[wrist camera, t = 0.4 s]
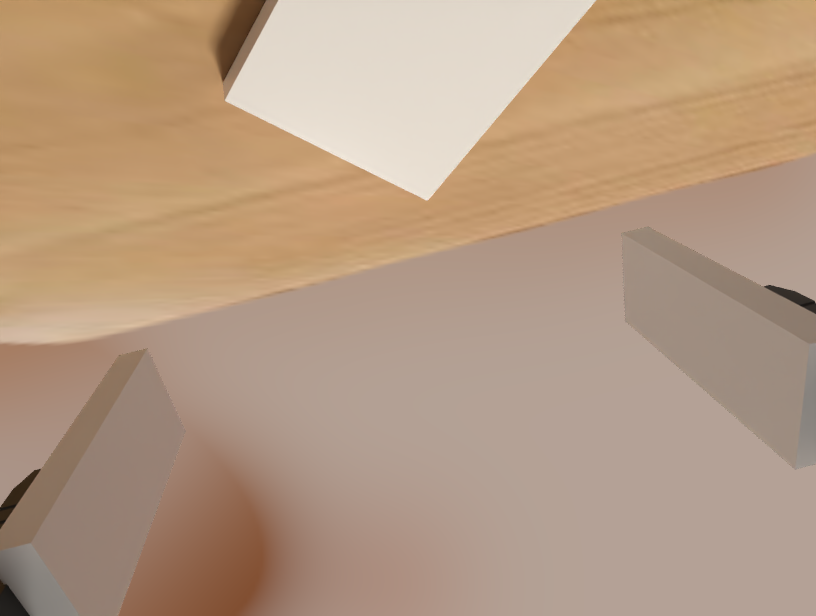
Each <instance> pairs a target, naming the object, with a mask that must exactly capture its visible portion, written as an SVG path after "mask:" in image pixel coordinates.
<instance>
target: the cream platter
mask: <svg viewBox="0 0 816 616" xmlns="http://www.w3.org/2000/svg"><path fill="white" fill-rule="evenodd" d="M595 1H596V0H266V2H265V3H264V5H263V7H262V9H261V11H260V13H259V15H258V17H257V19H256V21H255V23H254V24H253V26H252V28H251V30H250V32H249V34H248V36H247V38H246V40H245V42H244V44H243V45H242V47H241V49H240V51H239V53H238V55H237V57H236V59H235V61H234V63H233V65H232V66H231V68H230V70H229V72H228V74H227V76H226V78H225V80H224V82H223V89H224V100H225V101H226V102H228V103H230V104H232V105H234V106H236V107H238V108H240V109H242V110H245V111H247V112H249V113H251V114H253V115H255V116H257V117H259V118H261V119H263V120H265V121H267V122H269V123H271V124H273V125H275V126H277V127H279V128H281V129H283V130H285V131H287V132H289V133H291V134H293V135H295V136H297V137H299V138H301V139H303V140H305V141H307V142H309V143H311V144H313V145H315V146H317V147H319V148H321V149H324V150H326V151H328V152H330V153H332V154H334V155H336V156H338V157H340V158H342V159H344V160H346V161H348V162H350V163H352V164H354V165H356V166H358V167H360V168H362V169H364V170H366V171H368V172H370V173H372V174H374V175H376V176H378V177H380V178H382V179H384V180H386V181H388V182H390V183H392V184H394V185H396V186H398V187H401V188H403V189H405V190H407V191H409V192H411V193H413V194H415V195H417V196H419V197H421V198H423V199H425V200H427V201H428V199H429V198H430V197H431V196H432V195H433V194H434V192H435V191H436V190H437V189H438V188H439V186H440V185H441V184H442V183H443V182H444V180H445V179H446V178H447V177H448V176H449V174H450V173H451V172H452V171H453V170H454V169H455V167H456V166H457V165H458V164H459V163H460V161H461V160H462V159H463V158H464V157H465V155H466V154H467V153H468V152H469V151H470V149H471V148H472V147H473V146H474V145H475V144H476V142H477V141H478V140H479V139H480V138H481V136H482V135H483V134H484V133H485V132H486V130H487V129H488V128H489V127H490V126H491V125H492V123H493V122H494V121H495V120H496V119H497V117H498V116H499V115H500V114H501V113H502V111H503V110H504V109H505V108H506V107H507V105H508V104H509V103H510V102H511V101H512V100H513V98H514V97H515V96H516V95H517V94H518V92H519V91H520V90H521V89H522V88H523V86H524V85H525V84H526V83H527V82H528V81H529V79H530V78H531V77H532V76H533V75H534V73H535V72H536V71H537V70H538V69H539V67H540V66H541V65H542V64H543V63H544V61H545V60H546V59H547V58H548V57H549V56H550V54H551V53H552V52H553V51H554V50H555V48H556V47H557V46H558V45H559V44H560V42H561V41H562V40H563V39H564V38H565V37H566V35H567V34H568V33H569V32H570V31H571V29H572V28H573V27H574V26H575V25H576V23H577V22H578V21H579V20H580V19H581V17H582V16H583V15H584V14H585V13H586V12H587V10H588V9H589V8H590V7H591V6H592V4H593V3H594V2H595Z"/></svg>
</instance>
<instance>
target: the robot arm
mask: <svg viewBox="0 0 816 616" xmlns="http://www.w3.org/2000/svg"><path fill="white" fill-rule="evenodd" d="M621 236H622V256H623V257H622V259H623V282H624V304H625V321H626V322H627V323H628V324H629V325H630V326H631V327H633V328H634V329H635V330H636V331H637V332H638V333H639V334H641V335H642V336H643V337H644V338H645V339H646V340H647V341H649V342H650V343H651V344H652V345H653V346H654V347H655V348H657V349H658V350H659V351H660V352H661V353H662V354H663V355H665V356H666V357H667V358H668V359H669V360H670V361H671V362H673V363H674V364H675V365H676V366H677V367H678V368H679V369H681V370H682V371H683V372H684V373H685V374H686V375H687V376H689V377H690V378H691V379H692V380H693V381H694V382H696V383H697V384H698V385H699V386H700V387H701V388H702V389H703V390H705V391H706V392H707V393H708V394H709V395H710V396H712V397H713V398H714V399H715V400H716V401H717V402H718V403H720V404H721V405H722V406H723V407H724V408H725V409H727V410H728V411H729V412H730V413H731V414H732V415H733V416H734V417H736V418H737V419H738V420H739V421H740V422H741V423H742V424H744V425H745V426H746V427H747V428H748V429H749V430H751V431H752V432H753V433H754V434H755V435H756V436H757V437H758V438H760V439H761V440H762V441H763V442H764V443H765V444H767V445H768V446H769V447H770V448H771V449H772V450H773V451H774V452H776V453H777V454H778V455H779V456H780V457H781V458H782V459H784V460H785V461H786V462H787V463H788V464H789V465H791V466H792V467H793V468H794V469H799V468H803V467H806V466H810V465H814V464H816V303H815V301H813V300H812V299H809V298H807V297H805V296H803V295H801V294H799V293H797V292H795V291H791V290H787V289H784V288H780V287H775V286H771V285H768V286H764V287H763V286H761V285H759V284H757V283H755V282H753V281H751V280H749V279H747V278H746V277H744V276H741V275H740V274H737V273H736V272H734V271H732V270H730V269H728V268H726V267H724V266H723V265H720V264H719V263H717V262H715V261H713V260H711V259H709V258H707V257H705V256H703V255H701V254H699V253H698V252H696V251H694V250H692V249H690V248H688V247H686V246H684V245H682V244H680V243H678V242H676V241H675V240H673V239H671V238H669V237H667V236H665V235H663V234H661V233H659V232H657V231H655V230H653V229H652V228H650V227H644V228H640V229H636V230H632V231H628V232H624V233H621ZM184 434H185V429H184V426H183V424H182V422H181V420H180V418H179V416H178V413H177V411H176V409H175V407H174V405H173V403H172V400H171V398H170V396H169V394H168V392H167V390H166V387H165V385H164V383H163V381H162V379H161V377H160V374H159V372H158V370H157V368H156V365H155V363H154V361H153V359H152V357H151V355H150V352H149V350H148V348H147V349H143V350H139V351H135V352H131V353H127V354H123V355H119V356H118V358H117V359H116V360H115V362H114V363H113V365H112V366H111V368H110V369H109V371H108V372H107V374H106V375H105V377H104V378H103V380H102V381H101V383H100V384H99V385H98V387H97V388H96V390H95V392H94V393H93V394H92V396H91V397H90V399H89V400H88V401H87V403H86V404H85V406H84V407H83V409H82V410H81V412H80V413H79V415H78V416H77V418H76V419H75V421H74V422H73V423H72V425H71V426H70V428H69V429H68V431H67V432H66V434H65V435H64V437H63V438H62V440H61V441H60V442H59V444H58V445H57V447H56V448H55V450H54V451H53V453H52V454H51V456H50V457H49V459H48V460H47V462H46V463H45V464H44V466H43V467H42V469H39V470H34V471H33V472H32V473H31V474H30V475H29V476H28V477H26V478H25V479H24V480H23V481H22V482H21V483H20V484H19V485H17V486H16V487H15V488H14V489H13V490H12V491H11V493H10V494H9V496H8V497H7V499H6V500H5V501H4V503H3V504H2V505H1V507H0V616H118V614H119V611H120V609H121V606H122V603H123V601H124V598H125V595H126V592H127V590H128V587H129V584H130V581H131V579H132V576H133V573H134V570H135V568H136V565H137V562H138V560H139V557H140V554H141V551H142V548H143V546H144V543H145V540H146V538H147V535H148V532H149V529H150V527H151V524H152V521H153V518H154V516H155V513H156V510H157V508H158V505H159V502H160V499H161V497H162V494H163V491H164V489H165V486H166V483H167V480H168V478H169V475H170V472H171V469H172V467H173V464H174V461H175V459H176V456H177V453H178V450H179V447H180V444H181V442H182V439H183V437H184Z"/></svg>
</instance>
